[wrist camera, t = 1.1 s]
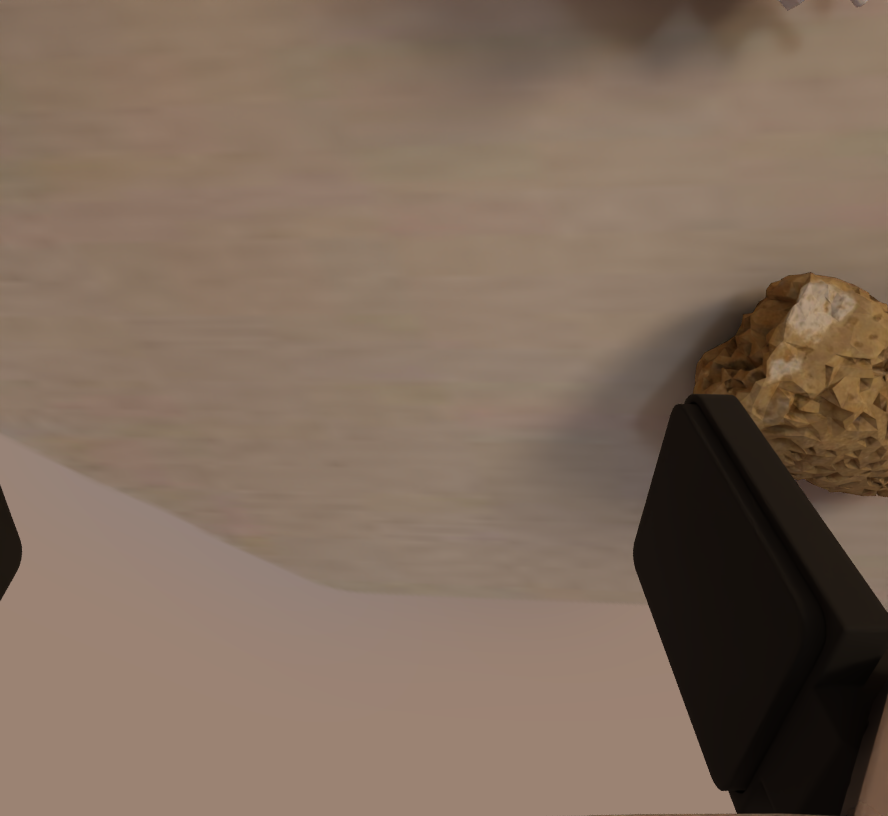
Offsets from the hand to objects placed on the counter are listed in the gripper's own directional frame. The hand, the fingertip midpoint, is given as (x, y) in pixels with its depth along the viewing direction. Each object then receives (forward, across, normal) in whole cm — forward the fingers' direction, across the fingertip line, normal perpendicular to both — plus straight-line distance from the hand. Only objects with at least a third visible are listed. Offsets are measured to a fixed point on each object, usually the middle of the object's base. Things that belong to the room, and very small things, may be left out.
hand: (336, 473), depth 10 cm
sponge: (+26, -28, +13) cm, 40 cm away
